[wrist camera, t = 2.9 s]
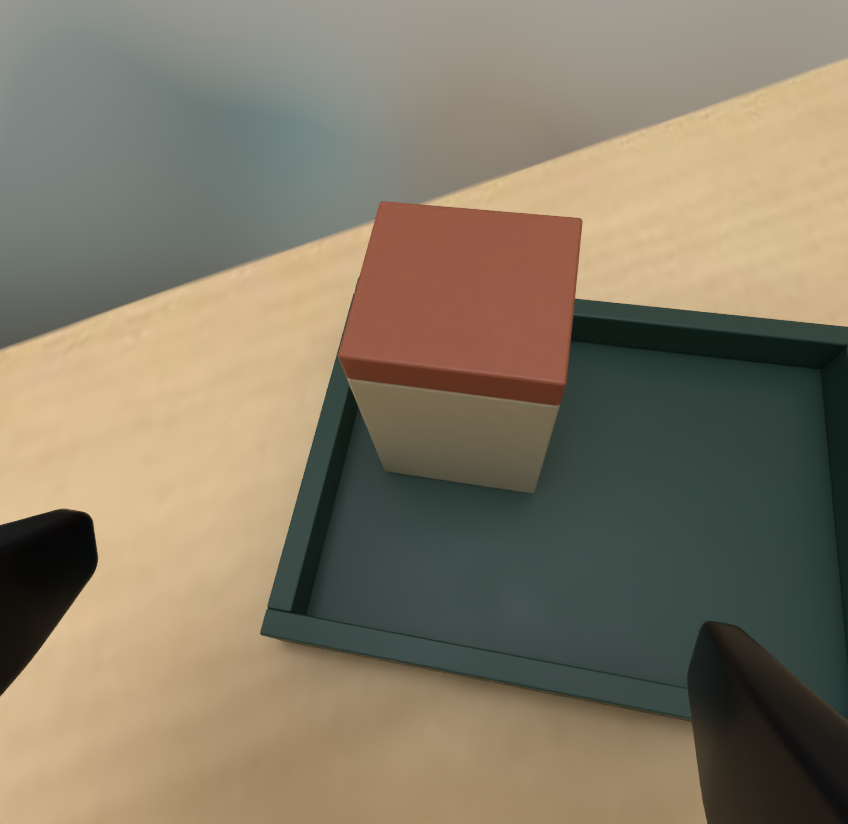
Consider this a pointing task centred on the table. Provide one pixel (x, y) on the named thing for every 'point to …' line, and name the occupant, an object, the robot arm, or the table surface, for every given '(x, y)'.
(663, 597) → the tray
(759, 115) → the table surface
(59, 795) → the table surface
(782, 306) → the table surface
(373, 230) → the carton
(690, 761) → the table surface
